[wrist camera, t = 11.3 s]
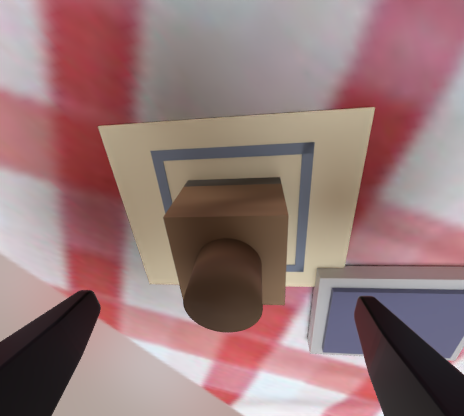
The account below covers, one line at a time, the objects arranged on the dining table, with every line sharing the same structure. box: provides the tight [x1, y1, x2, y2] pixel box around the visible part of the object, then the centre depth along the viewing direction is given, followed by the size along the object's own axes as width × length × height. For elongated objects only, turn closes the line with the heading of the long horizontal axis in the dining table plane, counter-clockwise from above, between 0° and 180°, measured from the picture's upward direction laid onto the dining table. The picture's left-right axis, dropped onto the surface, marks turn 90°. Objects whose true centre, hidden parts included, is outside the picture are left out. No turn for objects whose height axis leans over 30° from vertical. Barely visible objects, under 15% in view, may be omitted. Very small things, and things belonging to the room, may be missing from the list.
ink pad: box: [308, 266, 464, 361], centre depth 15 cm, size 9×7×1 cm
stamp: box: [163, 177, 289, 332], centre depth 10 cm, size 4×4×6 cm
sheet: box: [98, 107, 375, 287], centre depth 13 cm, size 12×10×1 cm
